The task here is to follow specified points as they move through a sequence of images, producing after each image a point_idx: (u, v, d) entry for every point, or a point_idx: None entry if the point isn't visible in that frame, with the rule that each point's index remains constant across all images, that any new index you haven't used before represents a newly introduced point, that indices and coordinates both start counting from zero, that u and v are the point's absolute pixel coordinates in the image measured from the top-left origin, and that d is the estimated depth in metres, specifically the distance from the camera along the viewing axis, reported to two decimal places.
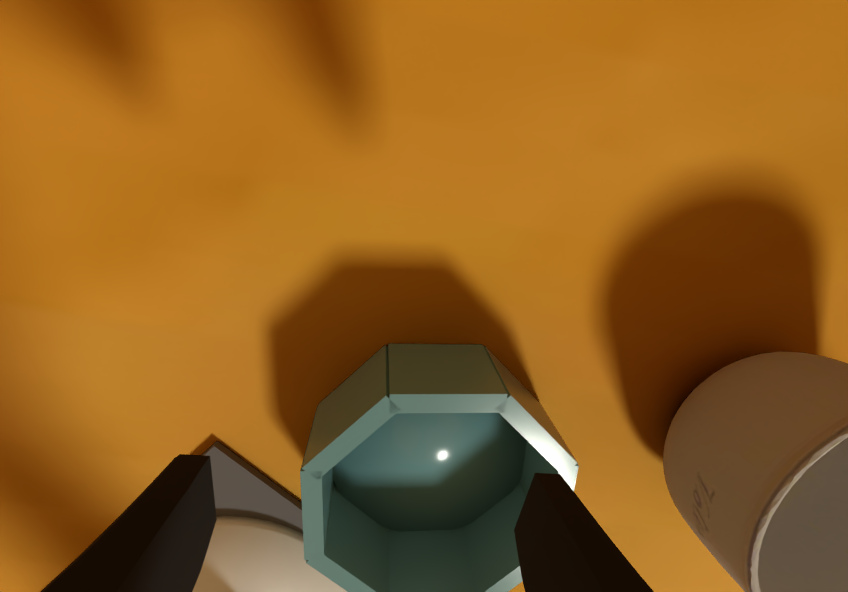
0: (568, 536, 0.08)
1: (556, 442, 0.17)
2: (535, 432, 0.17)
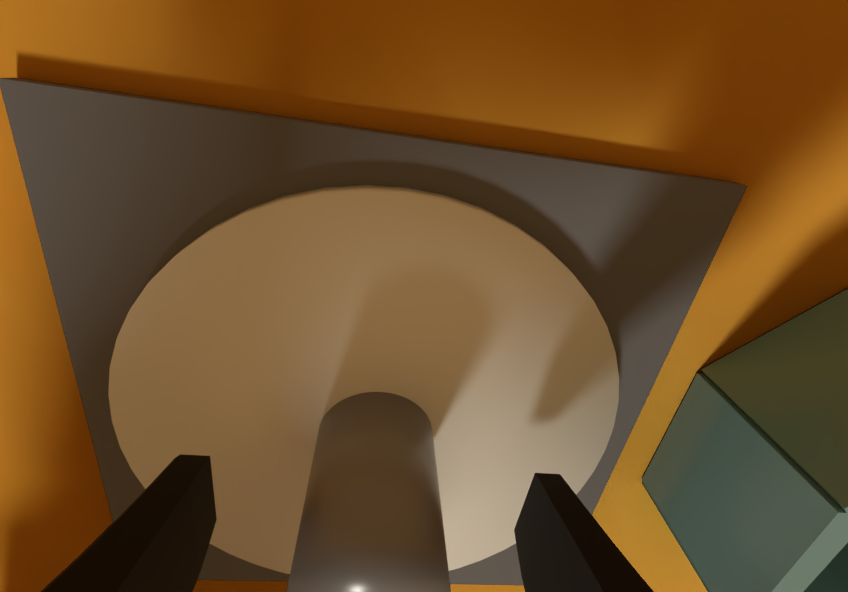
0: (568, 536, 0.08)
1: None
2: None
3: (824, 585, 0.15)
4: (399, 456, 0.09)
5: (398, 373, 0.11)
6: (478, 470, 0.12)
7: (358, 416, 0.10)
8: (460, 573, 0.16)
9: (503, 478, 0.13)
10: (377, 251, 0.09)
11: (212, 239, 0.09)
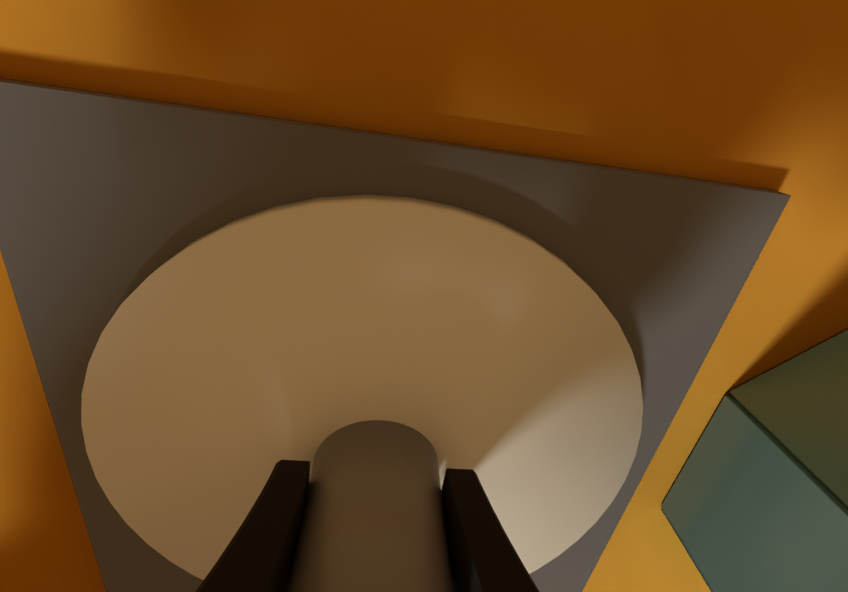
0: (462, 532, 0.08)
1: None
2: None
3: None
4: (402, 498, 0.08)
5: (401, 400, 0.10)
6: None
7: (356, 449, 0.09)
8: None
9: (514, 510, 0.12)
10: (378, 269, 0.08)
11: (192, 256, 0.08)
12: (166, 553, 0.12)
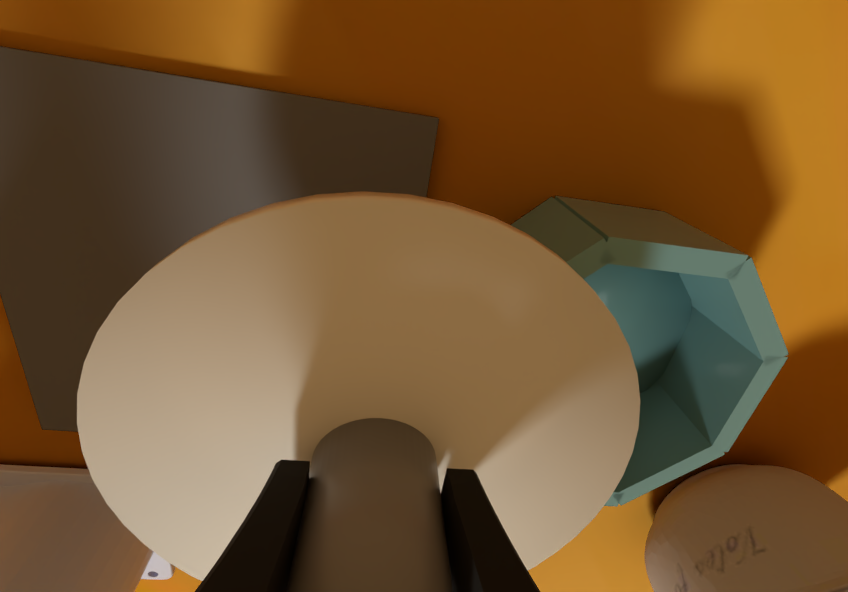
0: (463, 533, 0.08)
1: (745, 423, 0.16)
2: (750, 401, 0.16)
3: None
4: (401, 496, 0.08)
5: (399, 398, 0.10)
6: None
7: (355, 447, 0.09)
8: None
9: (512, 506, 0.12)
10: (376, 266, 0.08)
11: (189, 254, 0.08)
12: (163, 553, 0.12)
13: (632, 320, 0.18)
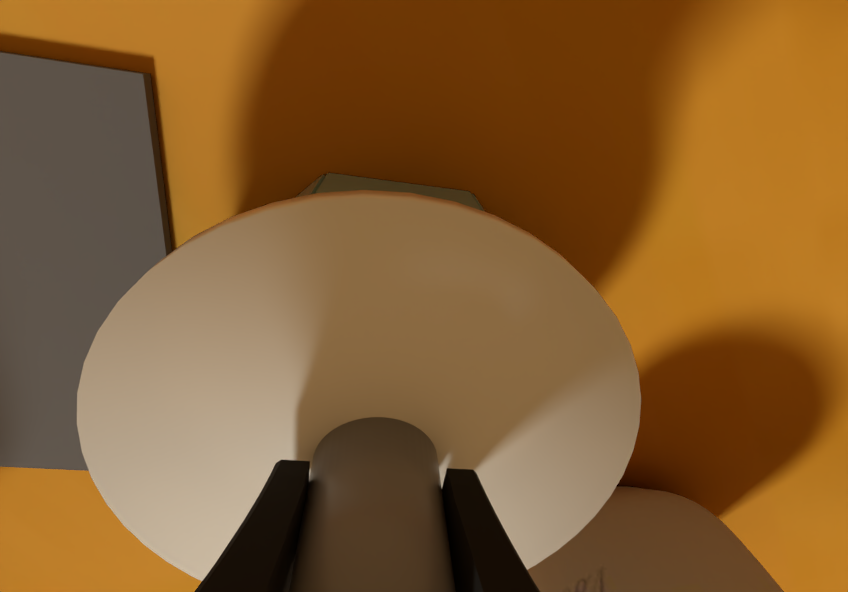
0: (463, 532, 0.08)
1: None
2: None
3: None
4: (403, 495, 0.08)
5: (400, 397, 0.10)
6: None
7: (356, 446, 0.09)
8: None
9: (513, 505, 0.12)
10: (378, 265, 0.08)
11: (190, 252, 0.08)
12: (163, 554, 0.12)
13: None
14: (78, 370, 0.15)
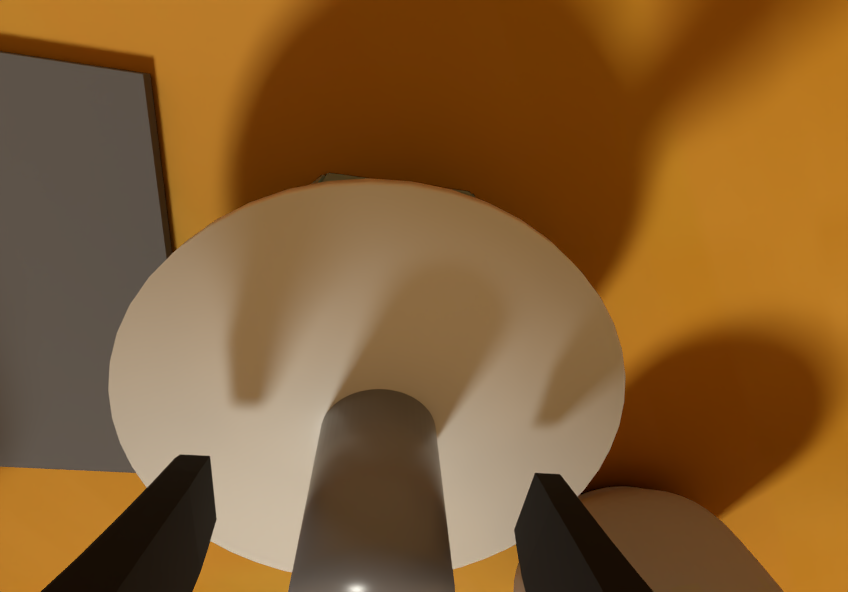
0: (568, 536, 0.08)
1: None
2: None
3: None
4: (402, 454, 0.09)
5: (401, 370, 0.11)
6: (481, 469, 0.12)
7: (361, 414, 0.10)
8: (91, 459, 0.17)
9: (507, 477, 0.13)
10: (381, 246, 0.09)
11: (213, 233, 0.09)
12: None
13: None
14: (78, 370, 0.16)
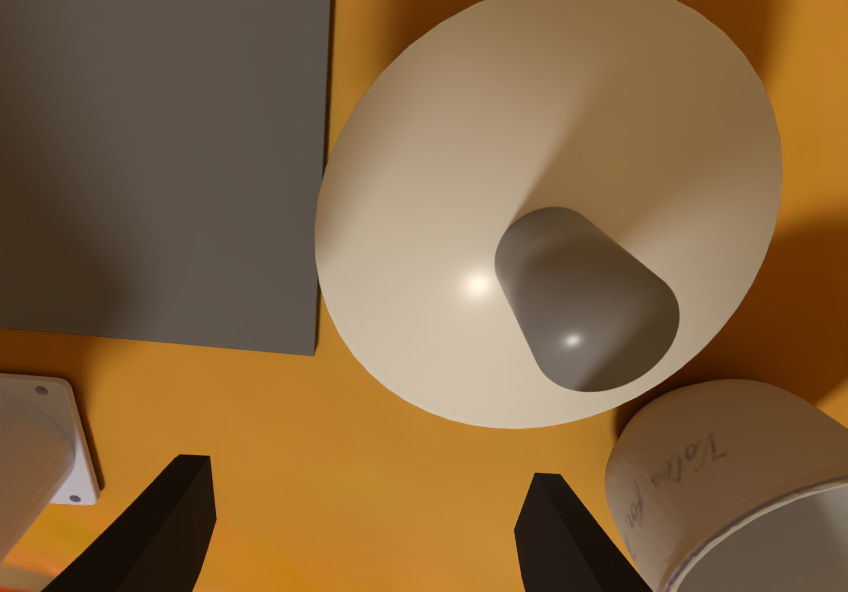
0: (568, 536, 0.08)
1: None
2: None
3: None
4: (607, 236, 0.10)
5: (581, 186, 0.12)
6: None
7: (552, 218, 0.11)
8: (221, 335, 0.19)
9: None
10: (590, 47, 0.10)
11: (447, 27, 0.10)
12: (352, 346, 0.14)
13: None
14: (225, 237, 0.17)
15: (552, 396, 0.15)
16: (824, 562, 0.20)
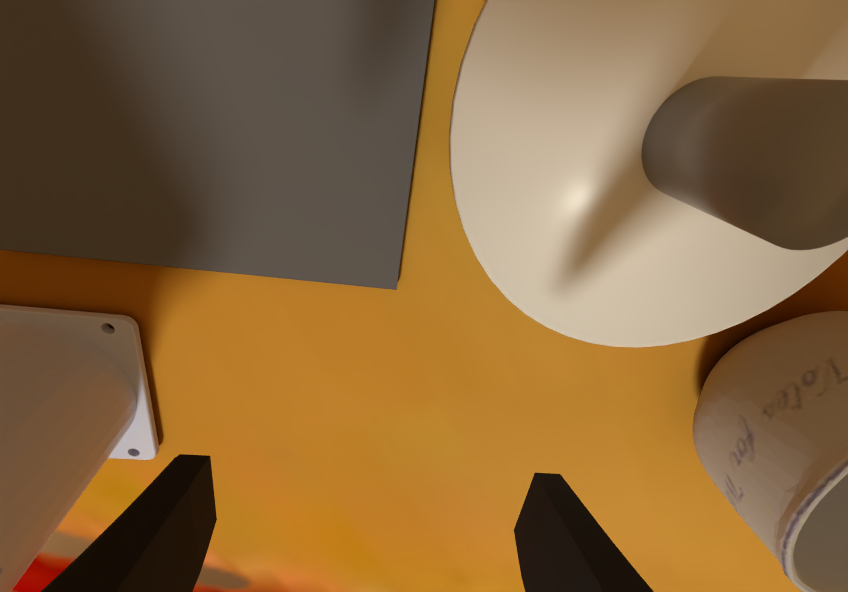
0: (568, 536, 0.08)
1: None
2: None
3: None
4: None
5: (748, 51, 0.11)
6: None
7: (725, 79, 0.10)
8: (301, 265, 0.17)
9: None
10: None
11: None
12: (477, 247, 0.12)
13: None
14: (315, 152, 0.15)
15: (679, 308, 0.14)
16: None
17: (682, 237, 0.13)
